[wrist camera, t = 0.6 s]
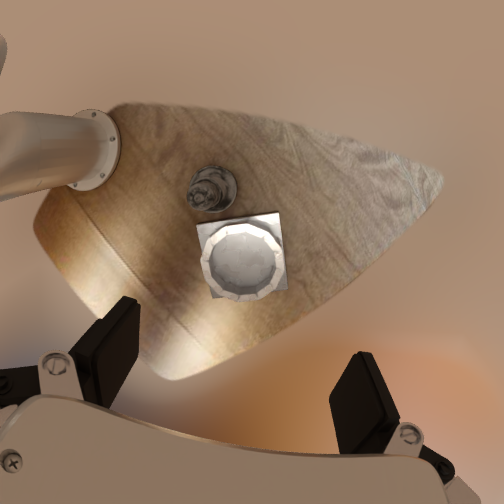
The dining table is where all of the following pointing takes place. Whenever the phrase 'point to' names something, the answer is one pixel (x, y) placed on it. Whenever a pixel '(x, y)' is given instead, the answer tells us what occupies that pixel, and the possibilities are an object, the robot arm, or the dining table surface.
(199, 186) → the salt shaker
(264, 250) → the hub plate
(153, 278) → the dining table surface
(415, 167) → the dining table surface
